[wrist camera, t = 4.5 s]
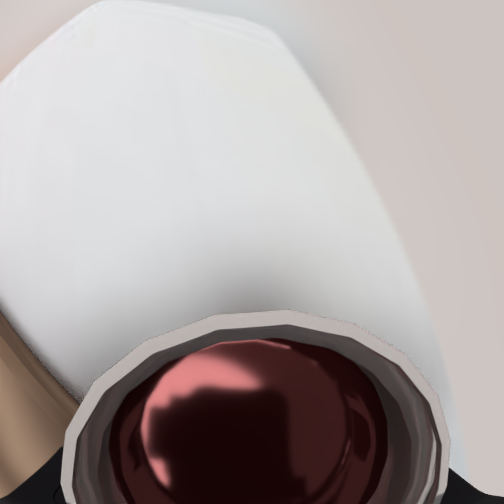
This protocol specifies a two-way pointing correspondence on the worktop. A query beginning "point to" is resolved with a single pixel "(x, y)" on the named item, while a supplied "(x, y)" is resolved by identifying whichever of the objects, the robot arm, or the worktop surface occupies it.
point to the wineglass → (259, 419)
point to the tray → (28, 411)
